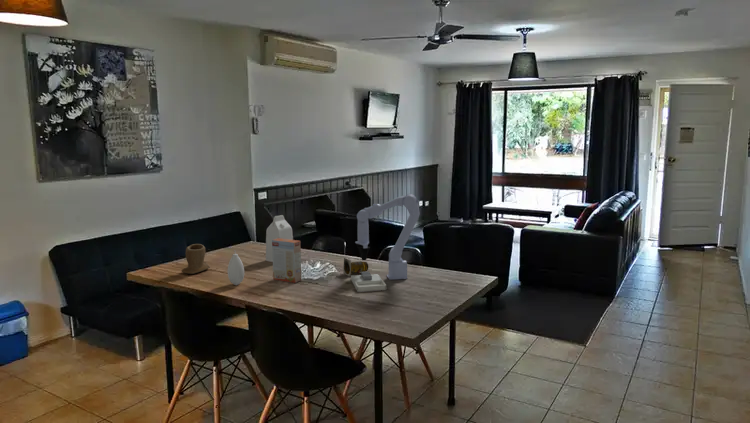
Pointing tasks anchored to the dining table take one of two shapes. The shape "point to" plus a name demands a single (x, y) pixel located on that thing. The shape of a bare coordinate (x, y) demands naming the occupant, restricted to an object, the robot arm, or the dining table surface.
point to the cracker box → (286, 260)
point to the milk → (277, 234)
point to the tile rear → (364, 273)
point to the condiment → (354, 267)
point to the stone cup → (195, 259)
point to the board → (360, 281)
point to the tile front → (367, 277)
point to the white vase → (235, 270)
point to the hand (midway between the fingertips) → (363, 258)
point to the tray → (370, 287)
